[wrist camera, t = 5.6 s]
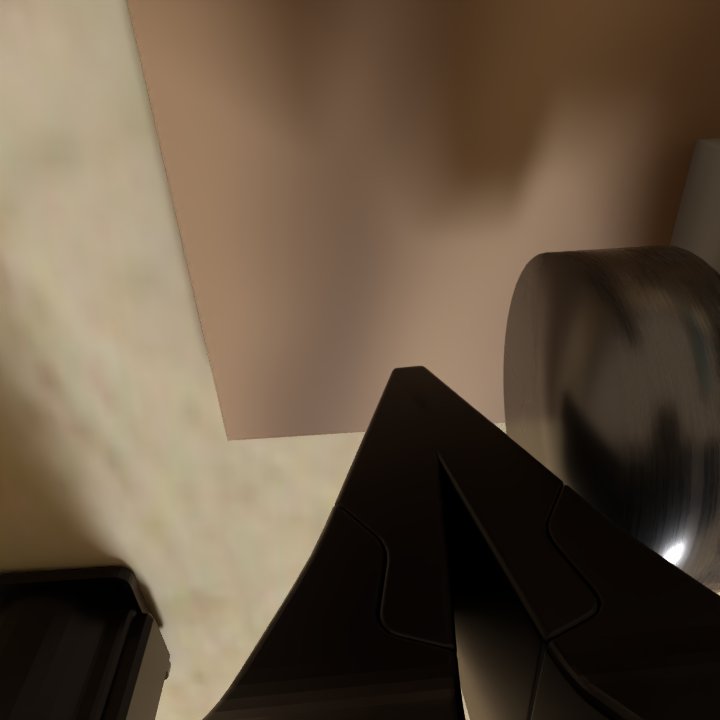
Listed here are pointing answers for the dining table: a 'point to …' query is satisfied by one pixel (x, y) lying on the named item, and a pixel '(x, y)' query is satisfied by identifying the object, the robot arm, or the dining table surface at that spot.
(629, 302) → the shaft
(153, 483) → the dining table surface
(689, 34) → the shaft stand
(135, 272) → the dining table surface
